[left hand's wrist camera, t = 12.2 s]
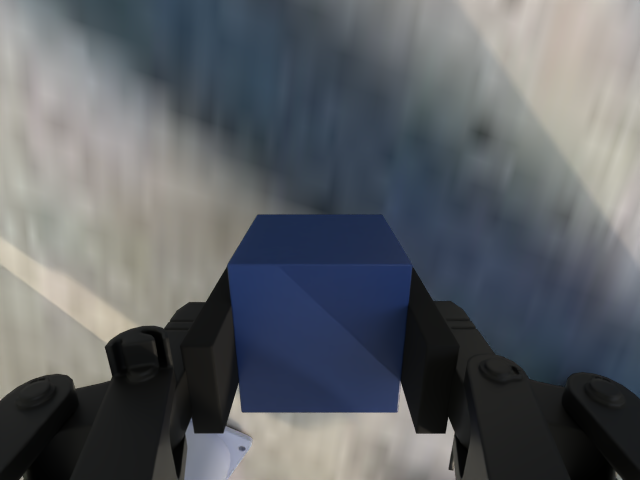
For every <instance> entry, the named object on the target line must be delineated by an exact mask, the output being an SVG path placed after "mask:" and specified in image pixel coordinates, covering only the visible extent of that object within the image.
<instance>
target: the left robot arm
mask: <svg viewBox="0 0 640 480" xmlns="http://www.w3.org/2000/svg"><path fill="white" fill-rule="evenodd" d="M105 349H106V353H107V357H108V361H109V365H110V369H111V373H112V379H111V381H107V382H104V383H100V384H95V385H91V386H86V387H82V388H77V389H75V386H74V383H73V380H72V379H71V378H70V377H69V376H67V375H62V374H53V375H46V376H42V377H39V378H35V379H33V380H30V381H28V382H26V383H24V384H23V385H21V386H19V387H17V388H16V389H14V390H13V391H12V392H10V393H9V394H7V395H6V396H5V397H4V398H3V399H2V400H1V401H0V480H19V479H20V478H21V477H22V476H23V478H24V480H184V477H185V467H186V458H187V448H188V447H187V441H186V435H185V432H186V430H187V428H188V425H189V423H190V420H191V418H192V423H193V429H194V434H223V433H224V430H225V427H226V423H227V420H228V417H229V413H230V410H231V407H232V403H233V400H234V396H235V393H236V390H237V386H238V383H239V377H238V367H237V357H236V346H235V336H234V326H233V316H232V306H231V299H230V288H229V278H228V268H227V267H226V269H225V271H224V273H223V274H222V276H221V278H220V279H219V281H218V283H217V284H216V286H215V288H214V289H213V291H212V293H211V294H210V296H209V298H208V299H207V301H206V302H189V303H187V304H186V305H184V306H183V307H182V308H180V309H179V310H177V311H176V313H175V314H174V316H173V317H172V318H171V320H170V322H169V323H168V324H167V325H166V327H165V328H164V329H163V328H161V327H157V326H142V327H137V328H133V329H130V330H127V331H125V332H122V333H120V334H119V335H117V336H116V337H114V338H113V339H111V340H110V341H109V342H108V344H107V345H106V346H105ZM401 384H402V387H403V391H404V394H405V397H406V401H407V404H408V407H409V411H410V414H411V417H412V421H413V424H414V427H415V431H416V434H445V433H446V427H447V421H448V417H449V419H450V422H451V424H452V427H453V429H454V431H455V435H454V440H453V446H452V452H451V458H450V464H449V470H453V469H454V466H455V476H456V480H618V479H617V478H616V477H617V474H618V475H619V476H620V477H621V478H622V480H640V399H639V398H638V397H637V396H636V395H635V394H634V393H632V392H631V391H630V390H628V389H627V388H626V387H624V386H623V385H621V384H619V383H617V382H615V381H613V380H611V379H609V378H606V377H604V376H601V375H597V374H591V373H584V372H581V373H575V374H572V375H571V376H570V377H568V379H567V382H566V385H565V387H561V386H556V385H551V384H547V383H542V382H538V381H534V380H531V379H529V378H528V376H527V375H526V373H525V372H524V370H523V369H522V368H521V367H520V366H518V365H517V364H516V363H514V362H513V361H511V360H509V359H507V358H505V357H502V356H498V355H495V353H494V352H493V351H492V349H491V348H490V346H489V345H488V344H487V342H486V341H485V339H484V338H483V337H482V335H481V334H480V333H479V331H478V330H477V329H476V327H475V326H474V324H473V323H472V321H470V319H469V317H468V316H467V314H466V313H465V312H464V310H463V309H462V308H460V307H459V306H457V305H456V304H454V303H453V302H451V301H433V300H432V298H431V297H430V295H429V293H428V291H427V290H426V288H425V286H424V285H423V283H422V281H421V280H420V278H419V276H418V275H417V273H416V271H415V270H414V268H413V266H412V275H411V285H410V295H409V304H408V313H407V323H406V334H405V344H404V354H403V364H402V375H401Z"/></svg>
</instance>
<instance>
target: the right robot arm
mask: <svg viewBox="0 0 640 480" xmlns="http://www.w3.org/2000/svg"><path fill="white" fill-rule="evenodd" d="M185 435H186V441H187V447H188V448H187V458H186V467H185V477H184V480H228V478H229V477H230V475H231V474H232V473H233V471H234V470H235V468H236V467H237V466H238V464H239V463H240V461H241V460H242V458H243V457H244V456H245V454H246V453H247V451H248V450H249V449H250V447H251V445H252V438H251V437H250V436H248V435H246V434H244V433H241V432H239V431H237V430H234V429H232V428H230V427H227V426H226V427H225V430H224V433H223V434H194V429H193V423H192V418H191V420H190V423H189V425H188V428H187V430H186V432H185Z"/></svg>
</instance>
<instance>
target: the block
mask: <svg viewBox="0 0 640 480" xmlns="http://www.w3.org/2000/svg"><path fill="white" fill-rule="evenodd" d="M227 268H228V278H229V288H230V299H231V306H232V316H233V326H234V336H235V346H236V357H237V367H238V377H239V390H240V400H241V410H242V412H398V407H399V397H400V386H401V375H402V364H403V354H404V344H405V334H406V323H407V313H408V304H409V295H410V285H411V275H412V263H411V262H410V260H409V258H408V257H407V255H406V253H405V252H404V250H403V248H402V247H401V245H400V243H399V242H398V240H397V238H396V237H395V235H394V233H393V232H392V230H391V228H390V227H389V225H388V223H387V222H386V220H385V218H384V217H383V215H257V216H256V218H255V220H254V221H253V223H252V225H251V226H250V228H249V230H248V231H247V233H246V235H245V236H244V238H243V240H242V241H241V243H240V244H239V246H238V248H237V249H236V251H235V253H234V254H233V256H232V258H231V259H230V261H229V263H228V264H227Z"/></svg>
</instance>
